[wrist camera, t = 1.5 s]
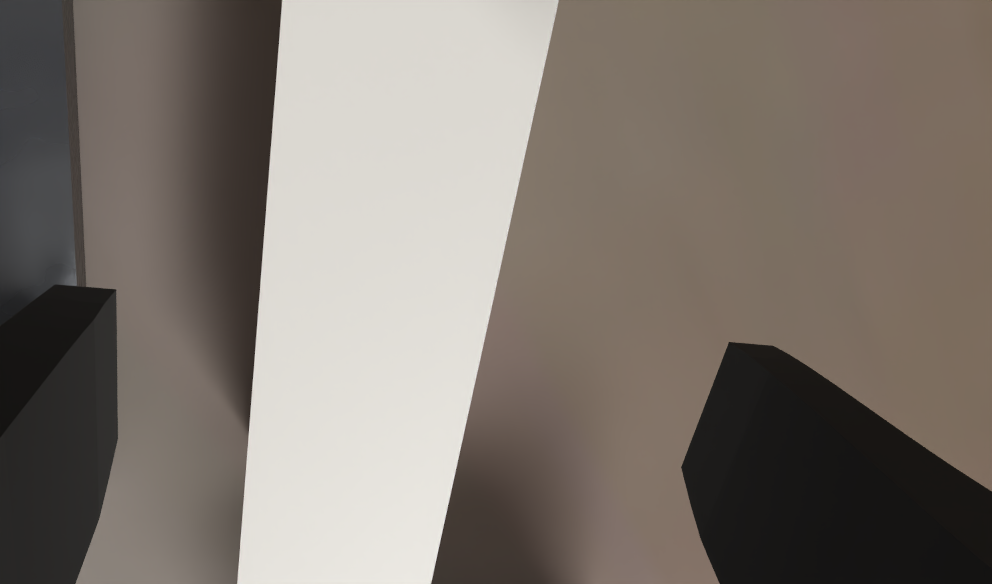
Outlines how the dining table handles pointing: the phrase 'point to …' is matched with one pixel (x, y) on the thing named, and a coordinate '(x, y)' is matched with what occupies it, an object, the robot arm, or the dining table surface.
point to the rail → (379, 274)
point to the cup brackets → (38, 153)
